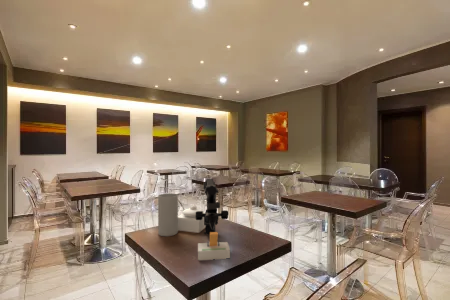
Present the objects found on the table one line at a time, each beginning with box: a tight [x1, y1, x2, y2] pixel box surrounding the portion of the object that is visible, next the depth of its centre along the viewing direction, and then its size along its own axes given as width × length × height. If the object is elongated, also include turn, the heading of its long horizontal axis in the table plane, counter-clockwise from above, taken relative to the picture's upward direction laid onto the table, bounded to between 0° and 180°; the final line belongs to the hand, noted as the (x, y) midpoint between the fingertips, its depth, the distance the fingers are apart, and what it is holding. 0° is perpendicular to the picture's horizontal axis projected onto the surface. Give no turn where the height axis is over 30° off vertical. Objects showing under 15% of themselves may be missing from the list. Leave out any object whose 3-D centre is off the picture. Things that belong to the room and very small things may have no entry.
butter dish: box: [178, 204, 206, 234], centre depth 168 cm, size 18×18×16 cm
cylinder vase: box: [157, 192, 179, 237], centre depth 156 cm, size 12×12×25 cm
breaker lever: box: [208, 231, 219, 246], centre depth 123 cm, size 2×4×9 cm
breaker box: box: [197, 241, 231, 261], centre depth 125 cm, size 10×16×6 cm, turn 96°
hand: (212, 229), depth 132 cm, fingers closed
